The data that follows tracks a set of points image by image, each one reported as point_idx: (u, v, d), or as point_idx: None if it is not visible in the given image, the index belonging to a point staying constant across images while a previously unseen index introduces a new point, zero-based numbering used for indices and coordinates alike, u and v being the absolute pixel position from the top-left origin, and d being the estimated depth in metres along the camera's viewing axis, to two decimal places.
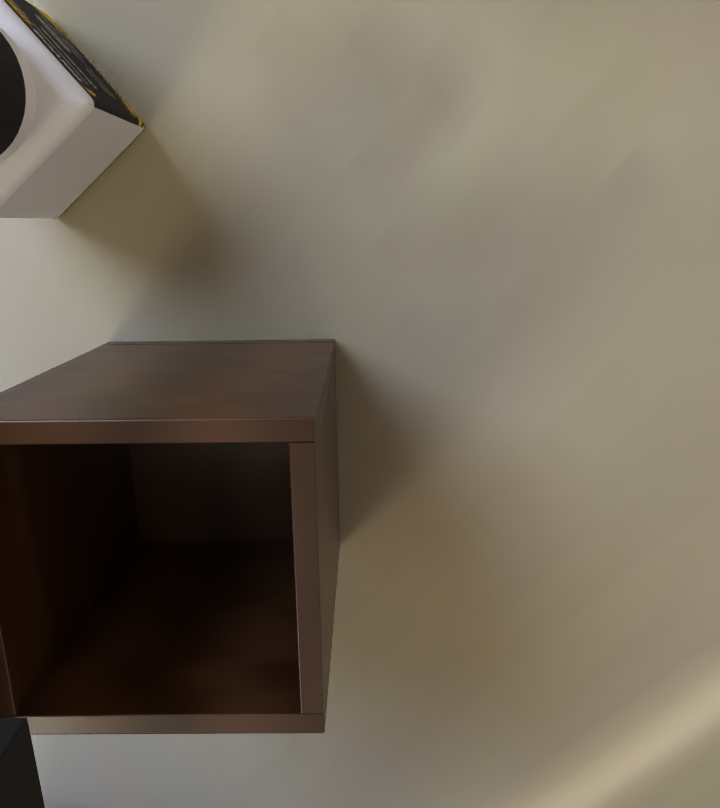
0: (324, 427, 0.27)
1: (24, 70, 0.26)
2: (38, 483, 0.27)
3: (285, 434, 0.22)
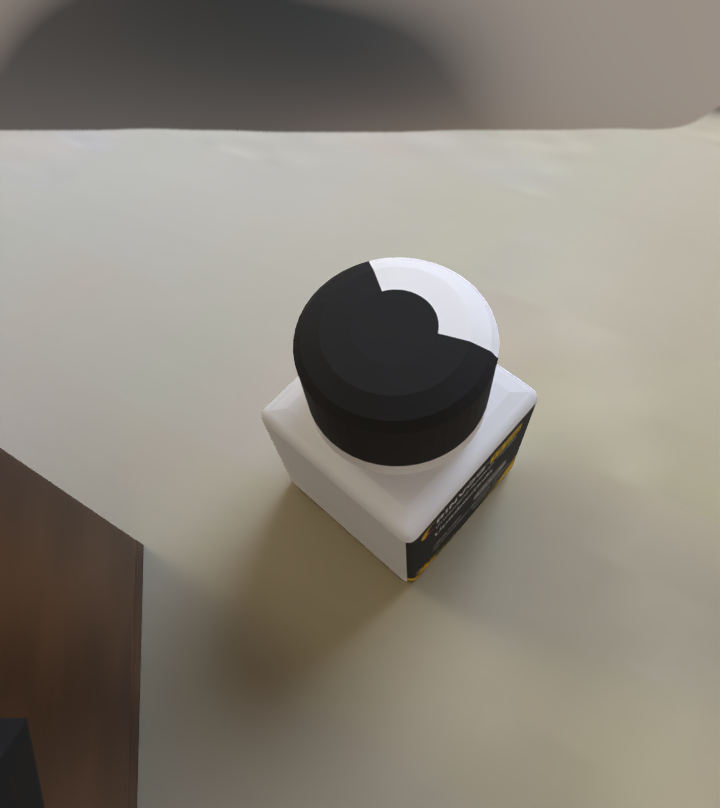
0: None
1: (429, 463, 0.20)
2: None
3: None
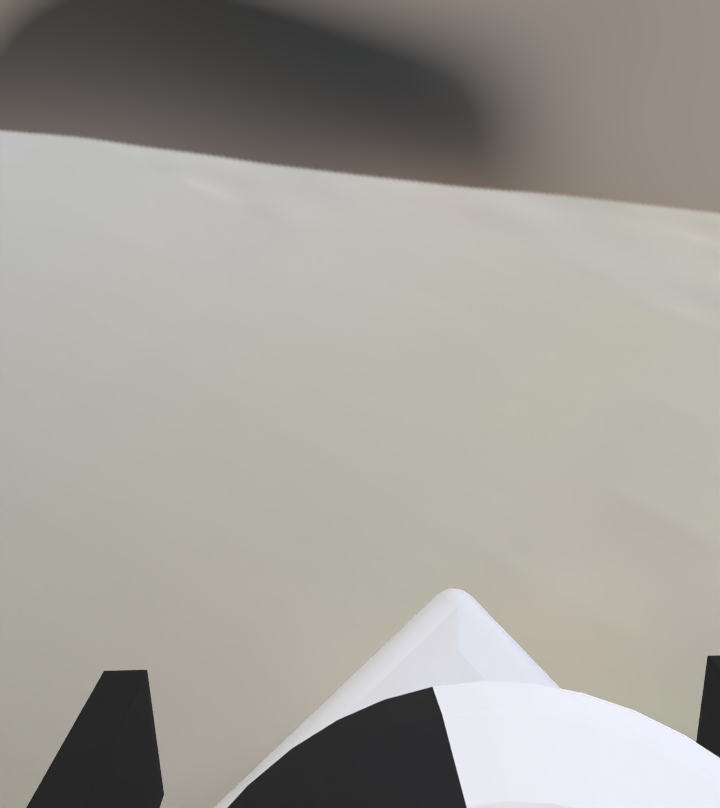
0: None
1: None
2: None
3: None
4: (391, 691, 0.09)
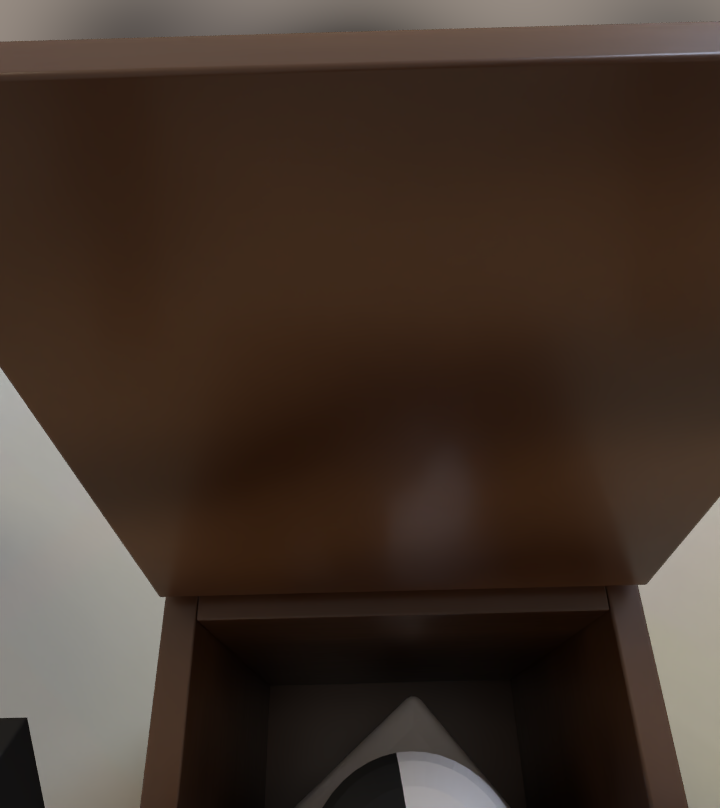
0: None
1: None
2: (473, 641, 0.21)
3: None
4: (384, 743, 0.22)
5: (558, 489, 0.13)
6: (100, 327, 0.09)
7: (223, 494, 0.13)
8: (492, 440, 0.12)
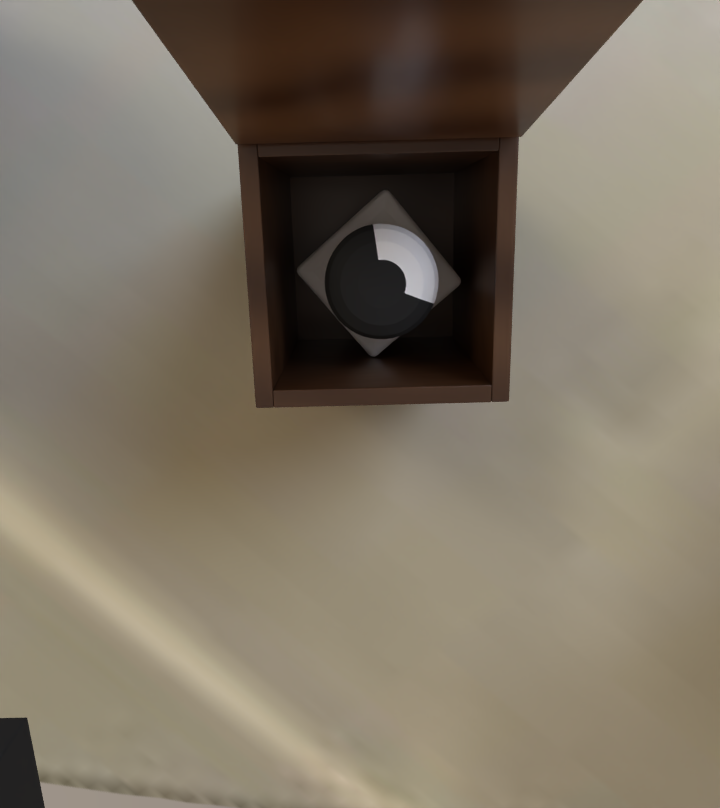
0: None
1: None
2: (422, 160, 0.34)
3: (498, 383, 0.33)
4: (367, 217, 0.38)
5: (461, 101, 0.24)
6: (232, 54, 0.19)
7: (280, 105, 0.24)
8: (424, 85, 0.22)
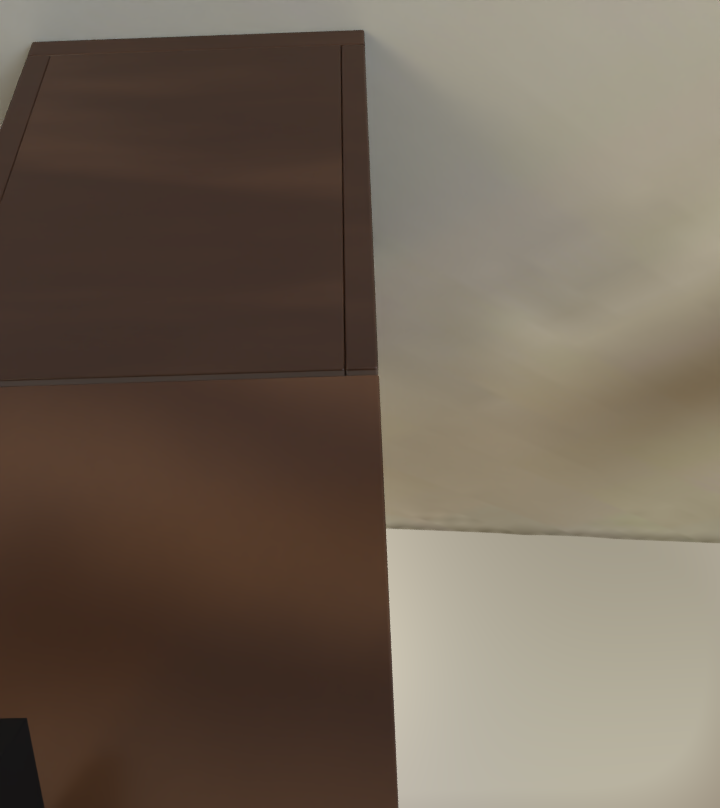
0: None
1: None
2: None
3: None
4: None
5: None
6: None
7: None
8: None
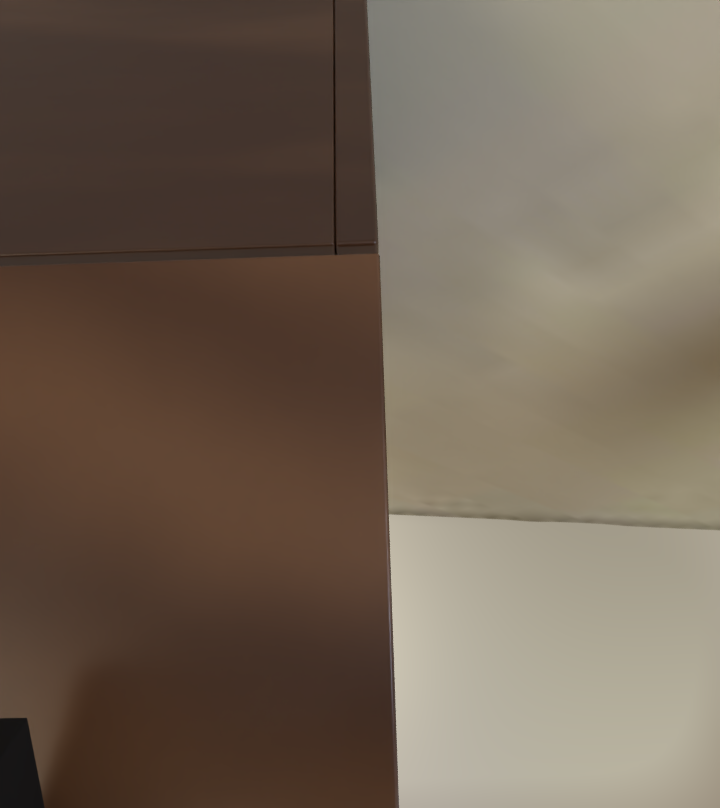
0: None
1: None
2: None
3: None
4: None
5: None
6: None
7: None
8: None
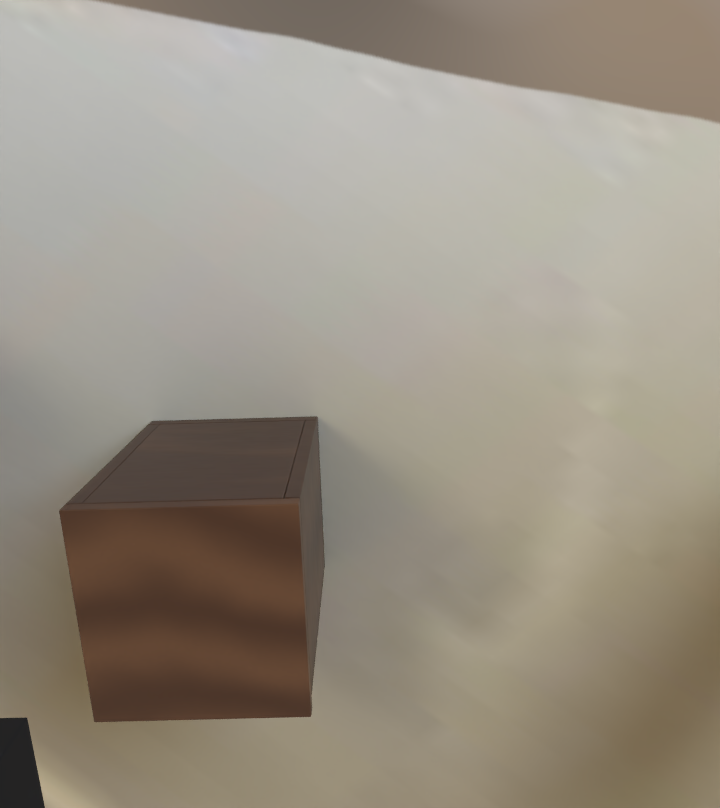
0: None
1: None
2: None
3: None
4: None
5: None
6: None
7: None
8: None
